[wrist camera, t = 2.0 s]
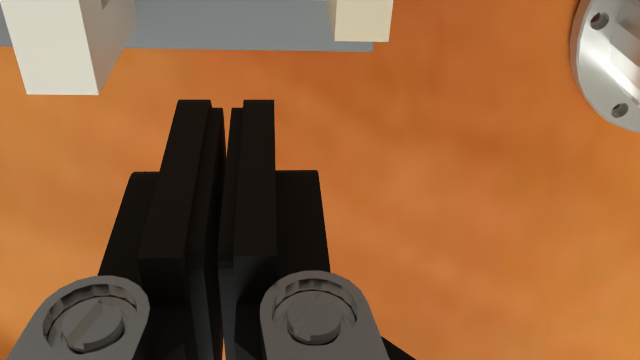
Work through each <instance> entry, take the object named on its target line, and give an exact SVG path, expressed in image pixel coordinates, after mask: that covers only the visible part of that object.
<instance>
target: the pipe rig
mask: <svg viewBox="0 0 640 360" xmlns="http://www.w3.org/2000/svg"><path fill="white" fill-rule="evenodd" d="M134 3H135V10H136V16H137V24H136V26H135V28H134V30H133V32H132V34H131V36H130V37H129V39H128V41H127V43H126V45H125V47H124V48H155V49H223V50H291V51H360V52H372V50H373V42H388V40H389V32H390V24H391V15H392V7H393V0H134ZM0 46H13V44H12V41H11V38H10V34H9V31H8V28H7V24H6V21H5V17H4V14H3V11H2V7H1V4H0Z"/></svg>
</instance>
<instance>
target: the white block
mask: <svg viewBox="0 0 640 360" xmlns="http://www.w3.org/2000/svg"><path fill="white" fill-rule="evenodd" d="M0 4H1V7H2V11H3V14H4V17H5V21H6V24H7V28H8V31H9V34H10V38H11V41H12V44H13V48H14V51H15V55H16V58H17V61H18V65H19V68H20V72H21V75H22V78H23V82H24V85H25V89H26V92H27V94H54V95H99V93H100V91H101V89H102V88H103V86H104V84H105V82H106V80H107V78H108V76H109V75H110V73H111V71H112V69H113V67H114V65H115V63H116V62H117V60H118V58H119V56H120V54H121V52H122V50H123V49H124V47H125V45H126V43H127V41H128V39H129V37H130V36H131V34H132V32H133V30H134V28H135V26H136V24H137V16H136V10H135V3H134V0H0Z"/></svg>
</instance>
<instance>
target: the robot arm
mask: <svg viewBox="0 0 640 360" xmlns="http://www.w3.org/2000/svg"><path fill="white" fill-rule="evenodd" d="M594 15H595V16H594ZM593 16H594V17H593ZM570 65H571V69H572V73H573V76H574V80H575V83H576V85H577V87H578V88H579V90H580V92H581V94H582V95H583V97H584V99H585V100H586V101H587V102H588V103H589V104H590V105H591V106H592V108H593V109H594V110H595V111H596V112H597V113H598V114H599V115H600V116H602V117H603V118H604V119H605V120H607V121H608V122H610V123H611V124H614V125H616V126H618V127H621V128H623V129H625V130H628V131H633V132H638V133H640V0H581V1H580V3H579V6H578V9H577V12H576V14H575V17H574V20H573V26H572V31H571V37H570ZM223 338H224V343H225V354H226V360H416V359H414V358H413V357H411V356H410V355H408V354H407V353H405V352H404V351H402V350H401V349H399V348H398V347H396V346H395V345H394V344H392V343H391V342H389V341H388V340H386V339H385V338H383V337H382V336H380V333H379V331H378V328H377V325H376V323H375V320H374V318H373V315H372V312H371V310H370V307H369V304H368V302H367V300H366V299H365V297H364V295H363V294H362V292H361V290H360V289H359V288H357V287H356V286H355V285H354V284H353V283H352V282H350V281H349V280H347V279H345V278H343V277H341V276H339V275H337V274H334V273H331V272H330V264H329V256H328V247H327V239H326V231H325V223H324V215H323V207H322V199H321V191H320V183H319V175H318V171H317V170H275V126H274V100H244V102H243V108H232V110H231V120H230V130H229V139H228V149H227V159H226V144H225V129H224V115H223V108H212V105H211V101H210V100H178V103H177V106H176V110H175V114H174V118H173V122H172V126H171V129H170V133H169V137H168V141H167V145H166V149H165V152H164V156H163V160H162V164H161V168H160V172H134V173H132V174H131V176H130V178H129V181H128V184H127V187H126V190H125V193H124V196H123V199H122V203H121V206H120V209H119V212H118V215H117V218H116V221H115V224H114V227H113V230H112V233H111V236H110V239H109V242H108V245H107V248H106V251H105V254H104V257H103V260H102V263H101V266H100V270H99V273H98V276H93V277H89V278H85V279H81V280H77V281H75V282H73V283H70V284H68V285H66V286H64V287H62V288H60V289H59V290H57V291H56V292H55V293H53V294H52V295H51V296H49V297H48V298H47V299H46V300H45V301H44V302H43V303H42V304H41V306H40V307H39V308H38V309H37V310H36V312H35V313H34V315H33V316H32V318H31V320H30V321H29V323H28V324H27V326H26V328H25V329H24V331H23V333H22V334H21V336H20V337H19V339H18V341H17V342H16V344H15V346H14V347H13V349H12V350H11V352H10V354H9V355H8V357H7V359H6V360H222V351H223Z"/></svg>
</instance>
